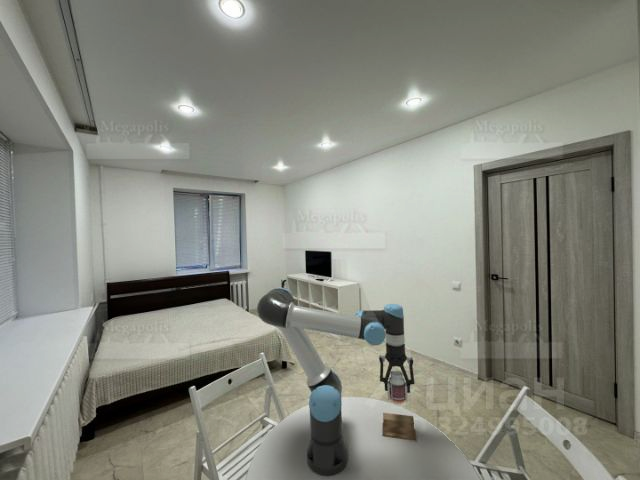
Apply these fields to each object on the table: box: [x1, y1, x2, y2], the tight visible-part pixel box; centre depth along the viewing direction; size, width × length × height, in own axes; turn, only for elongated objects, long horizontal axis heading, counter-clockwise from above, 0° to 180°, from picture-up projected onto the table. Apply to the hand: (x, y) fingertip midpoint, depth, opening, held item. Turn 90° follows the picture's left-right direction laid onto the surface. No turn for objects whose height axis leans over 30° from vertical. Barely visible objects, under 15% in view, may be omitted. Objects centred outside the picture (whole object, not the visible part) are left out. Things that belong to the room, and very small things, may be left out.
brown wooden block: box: [381, 412, 417, 442], centre depth 108 cm, size 13×7×6 cm, turn 76°
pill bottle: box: [388, 369, 406, 405], centre depth 108 cm, size 6×6×11 cm
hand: (397, 399), depth 108 cm, fingers closed on pill bottle, 6 cm apart
